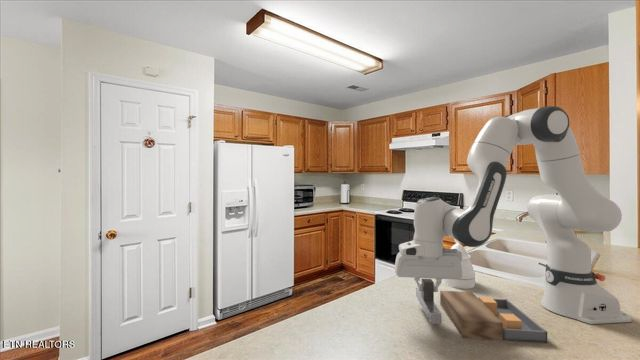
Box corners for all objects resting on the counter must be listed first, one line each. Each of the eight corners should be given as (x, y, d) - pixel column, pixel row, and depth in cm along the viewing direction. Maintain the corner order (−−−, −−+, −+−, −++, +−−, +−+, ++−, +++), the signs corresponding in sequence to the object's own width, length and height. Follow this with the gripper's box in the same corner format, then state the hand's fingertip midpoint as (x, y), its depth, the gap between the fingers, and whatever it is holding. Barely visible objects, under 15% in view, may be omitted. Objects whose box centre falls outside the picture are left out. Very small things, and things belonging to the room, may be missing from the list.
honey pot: (440, 275, 127) (441, 236, 126) (472, 279, 122) (473, 238, 122) (442, 285, 115) (442, 242, 114) (477, 290, 110) (477, 245, 110)
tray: (506, 307, 96) (506, 299, 96) (547, 342, 76) (547, 332, 76) (471, 306, 97) (471, 297, 97) (502, 340, 77) (502, 329, 77)
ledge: (471, 306, 97) (471, 292, 97) (502, 340, 77) (502, 322, 77) (440, 304, 98) (440, 290, 98) (462, 337, 78) (463, 320, 78)
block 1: (478, 308, 94) (490, 309, 94) (483, 314, 90) (496, 314, 90) (478, 296, 94) (490, 297, 94) (483, 302, 90) (497, 302, 90)
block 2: (498, 326, 83) (512, 327, 83) (506, 334, 79) (521, 334, 79) (499, 313, 83) (513, 313, 83) (506, 320, 79) (521, 320, 79)
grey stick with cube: (424, 296, 98) (424, 271, 97) (441, 323, 80) (441, 292, 80) (416, 296, 98) (416, 270, 98) (430, 323, 80) (430, 292, 80)
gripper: (458, 246, 90) (457, 288, 91) (394, 244, 93) (393, 285, 93) (466, 251, 84) (465, 297, 85) (397, 249, 86) (396, 293, 87)
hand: (427, 290), depth 89 cm, fingers closed on grey stick with cube, 3 cm apart
